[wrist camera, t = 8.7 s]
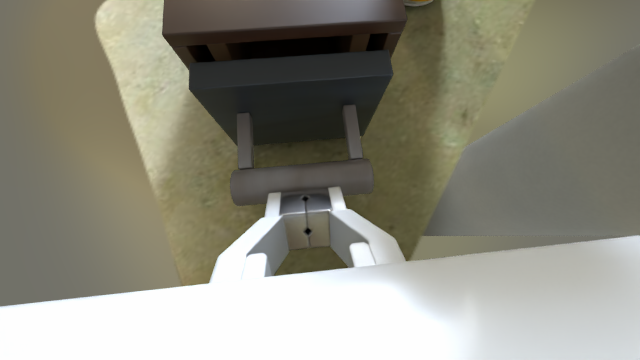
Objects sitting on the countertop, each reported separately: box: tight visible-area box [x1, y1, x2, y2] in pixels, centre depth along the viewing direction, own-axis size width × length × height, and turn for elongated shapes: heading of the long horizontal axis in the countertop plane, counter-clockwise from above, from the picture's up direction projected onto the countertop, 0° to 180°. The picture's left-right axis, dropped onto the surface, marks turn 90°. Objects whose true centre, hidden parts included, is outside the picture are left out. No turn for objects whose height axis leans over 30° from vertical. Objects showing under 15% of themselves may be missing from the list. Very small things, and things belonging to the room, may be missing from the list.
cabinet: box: [162, 0, 407, 70], centre depth 14 cm, size 11×9×8 cm
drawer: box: [189, 34, 393, 206], centre depth 13 cm, size 15×8×6 cm, turn 6°
